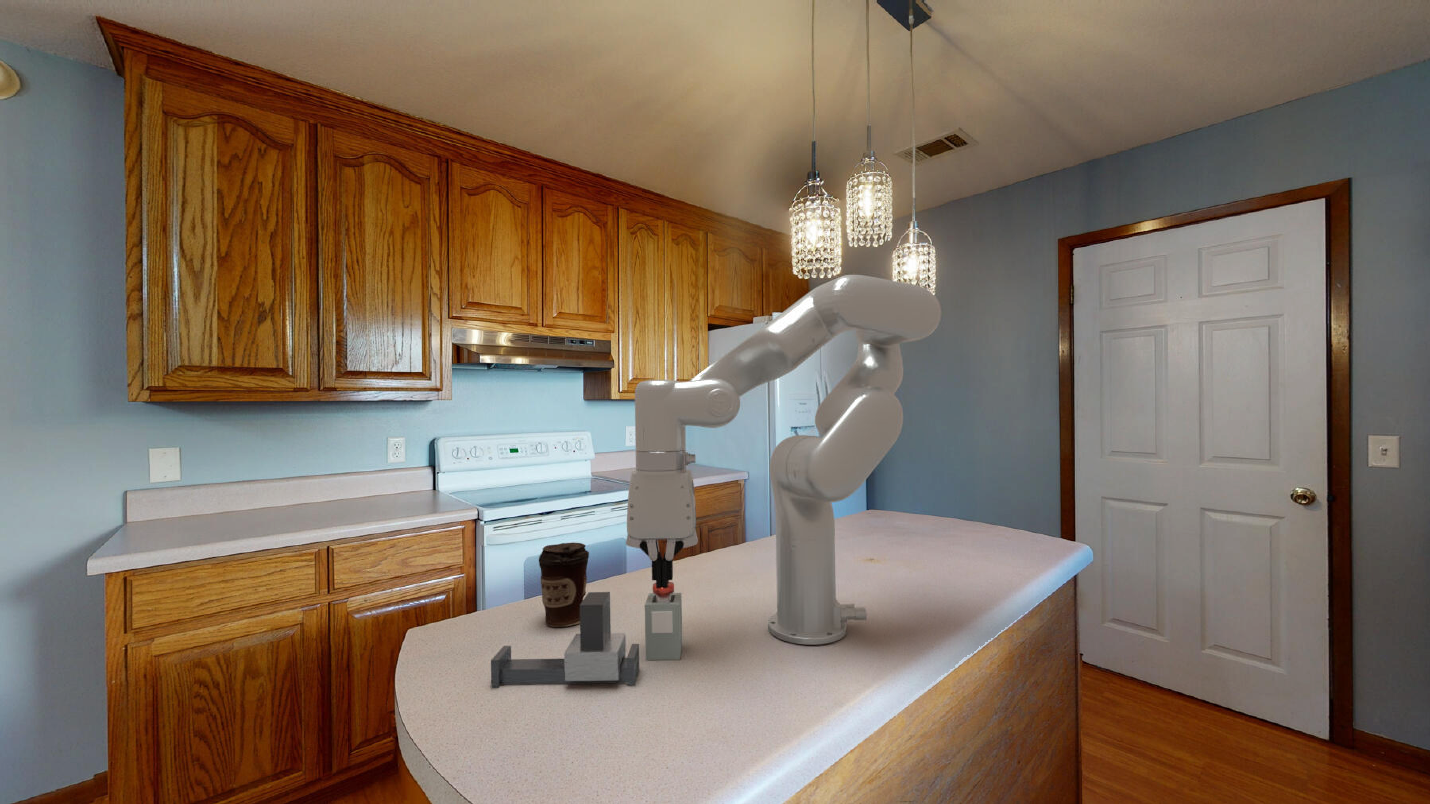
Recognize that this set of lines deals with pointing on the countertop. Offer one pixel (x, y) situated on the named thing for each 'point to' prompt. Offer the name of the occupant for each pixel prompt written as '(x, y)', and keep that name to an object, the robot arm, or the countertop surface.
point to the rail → (551, 670)
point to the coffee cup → (563, 582)
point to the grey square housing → (663, 628)
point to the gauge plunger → (663, 592)
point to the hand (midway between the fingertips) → (662, 584)
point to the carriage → (595, 643)
